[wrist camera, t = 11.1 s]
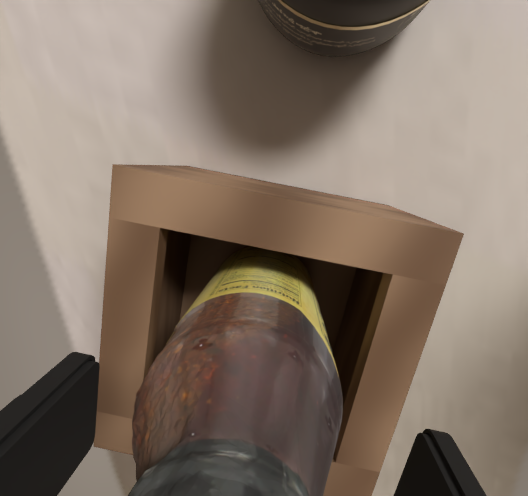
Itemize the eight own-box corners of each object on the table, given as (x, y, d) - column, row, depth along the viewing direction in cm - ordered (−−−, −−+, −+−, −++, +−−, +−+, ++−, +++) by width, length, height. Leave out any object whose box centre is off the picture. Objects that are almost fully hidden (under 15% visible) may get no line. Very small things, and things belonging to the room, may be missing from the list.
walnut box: (388, 205, 20) (463, 233, 12) (338, 381, 24) (367, 506, 15) (186, 165, 21) (112, 164, 12) (164, 344, 24) (93, 446, 15)
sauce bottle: (281, 341, 23) (235, 1319, 3) (203, 297, 22) (-340, 1103, 3) (332, 264, 21) (793, 1267, 2) (249, 215, 21) (-266, 823, 1)
